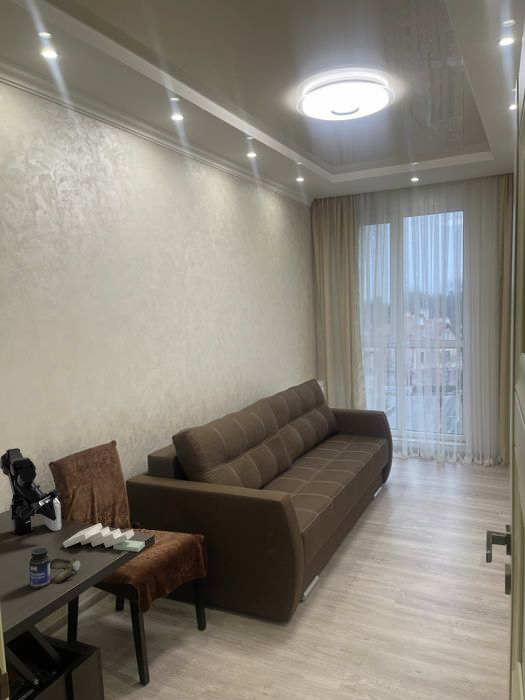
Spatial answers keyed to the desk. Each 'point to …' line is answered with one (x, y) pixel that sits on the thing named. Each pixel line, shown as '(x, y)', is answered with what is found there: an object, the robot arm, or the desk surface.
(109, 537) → the domino
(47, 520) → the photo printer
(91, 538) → the domino
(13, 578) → the desk surface
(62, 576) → the eagle figurine
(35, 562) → the pill bottle
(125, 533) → the domino
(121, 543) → the domino
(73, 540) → the domino
